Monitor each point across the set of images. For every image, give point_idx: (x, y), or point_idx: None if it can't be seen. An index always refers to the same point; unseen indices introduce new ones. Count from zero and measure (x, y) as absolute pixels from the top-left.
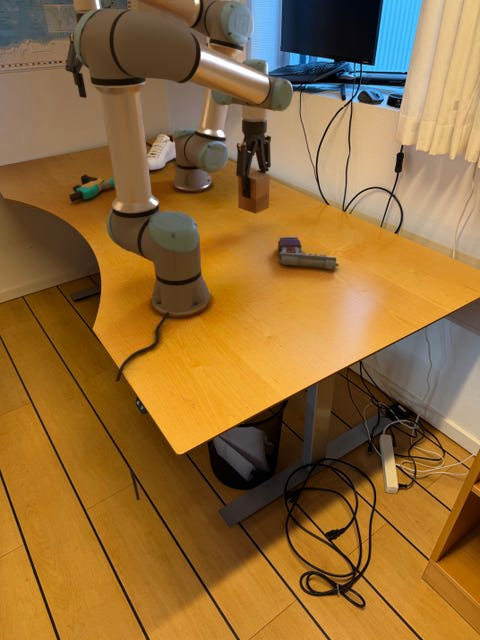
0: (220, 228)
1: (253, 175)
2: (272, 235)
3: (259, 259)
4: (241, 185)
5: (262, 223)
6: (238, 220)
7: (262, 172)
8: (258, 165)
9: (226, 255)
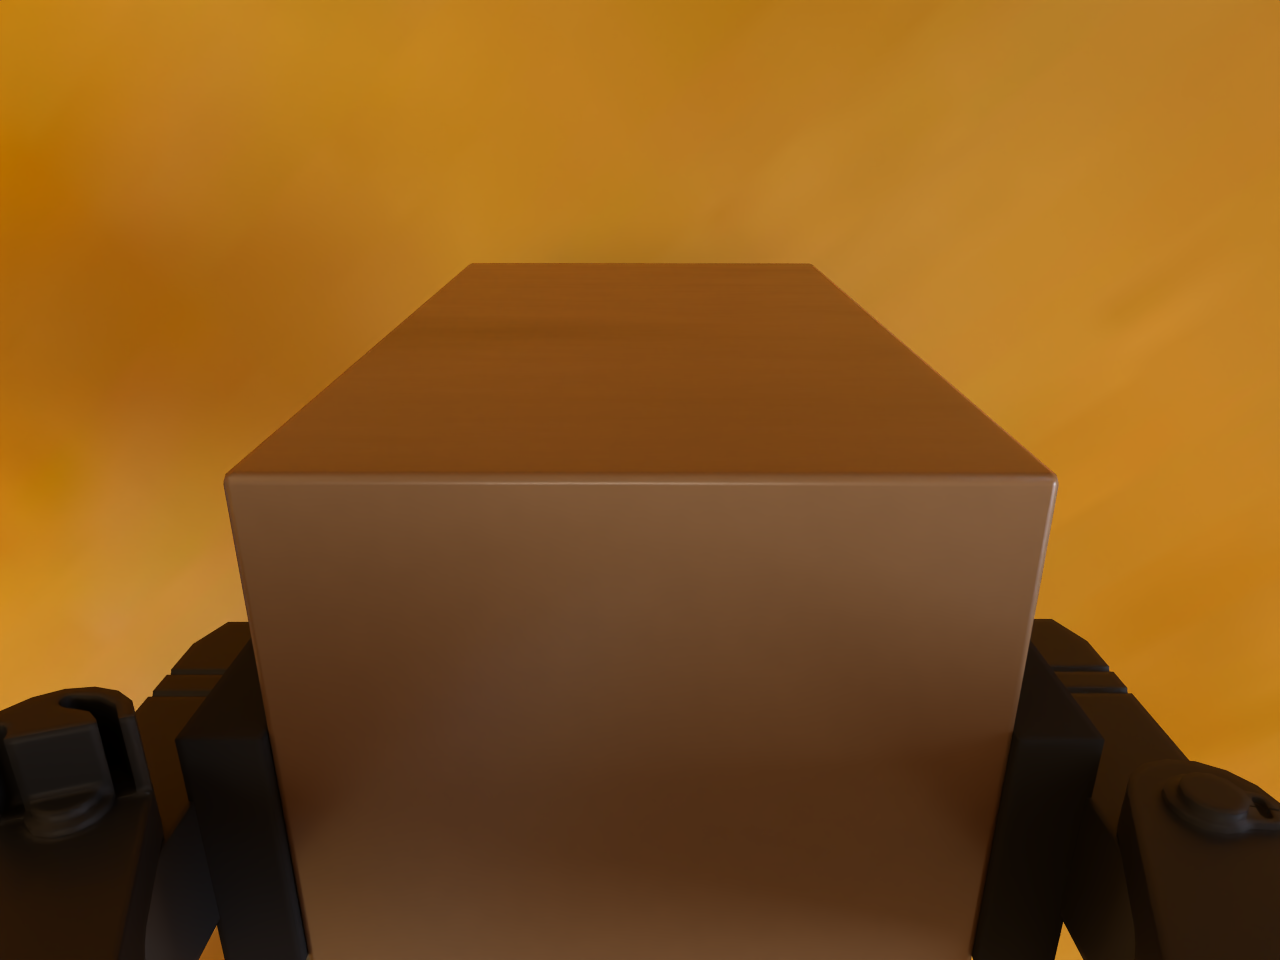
0: (359, 18)
1: (550, 899)
2: None
3: None
4: (186, 657)
5: None
6: (712, 31)
7: (972, 922)
8: (1152, 900)
9: (6, 549)
